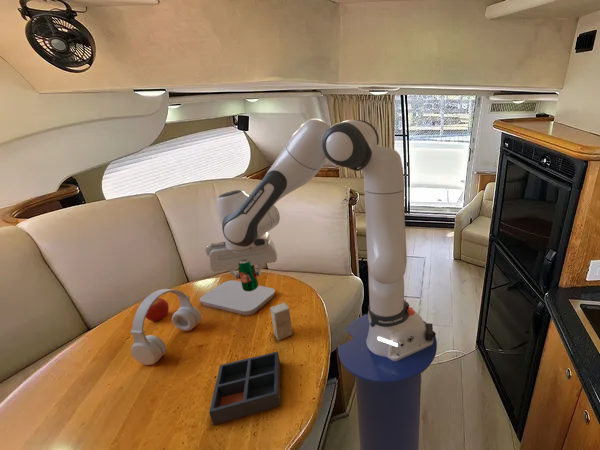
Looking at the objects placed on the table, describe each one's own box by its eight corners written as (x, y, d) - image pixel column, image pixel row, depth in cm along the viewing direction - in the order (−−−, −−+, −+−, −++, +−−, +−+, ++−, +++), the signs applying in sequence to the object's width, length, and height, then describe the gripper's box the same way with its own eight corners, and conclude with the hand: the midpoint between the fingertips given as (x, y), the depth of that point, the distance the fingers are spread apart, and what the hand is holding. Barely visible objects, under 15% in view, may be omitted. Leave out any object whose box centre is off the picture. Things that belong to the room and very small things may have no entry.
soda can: (239, 291, 106) (232, 260, 102) (249, 283, 111) (242, 253, 106) (252, 293, 105) (245, 261, 101) (261, 285, 110) (255, 254, 105)
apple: (158, 325, 112) (152, 307, 109) (139, 323, 113) (133, 305, 110) (176, 312, 119) (170, 295, 116) (158, 310, 120) (152, 293, 117)
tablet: (229, 283, 138) (228, 279, 137) (278, 294, 131) (278, 289, 130) (197, 304, 124) (195, 299, 123) (250, 317, 116) (249, 312, 115)
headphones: (158, 367, 94) (139, 315, 87) (134, 365, 95) (112, 312, 88) (205, 324, 113) (192, 278, 106) (184, 322, 114) (169, 276, 107)
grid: (280, 363, 96) (277, 351, 94) (279, 406, 82) (277, 393, 81) (223, 376, 91) (220, 364, 89) (213, 425, 77) (209, 412, 76)
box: (278, 341, 105) (273, 313, 101) (274, 334, 108) (269, 307, 104) (293, 334, 108) (289, 307, 104) (288, 327, 111) (284, 301, 107)
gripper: (201, 248, 95) (212, 287, 100) (273, 239, 101) (279, 275, 107) (206, 240, 101) (216, 277, 106) (273, 232, 107) (279, 267, 112)
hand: (248, 276), depth 106 cm, fingers closed on soda can, 5 cm apart
